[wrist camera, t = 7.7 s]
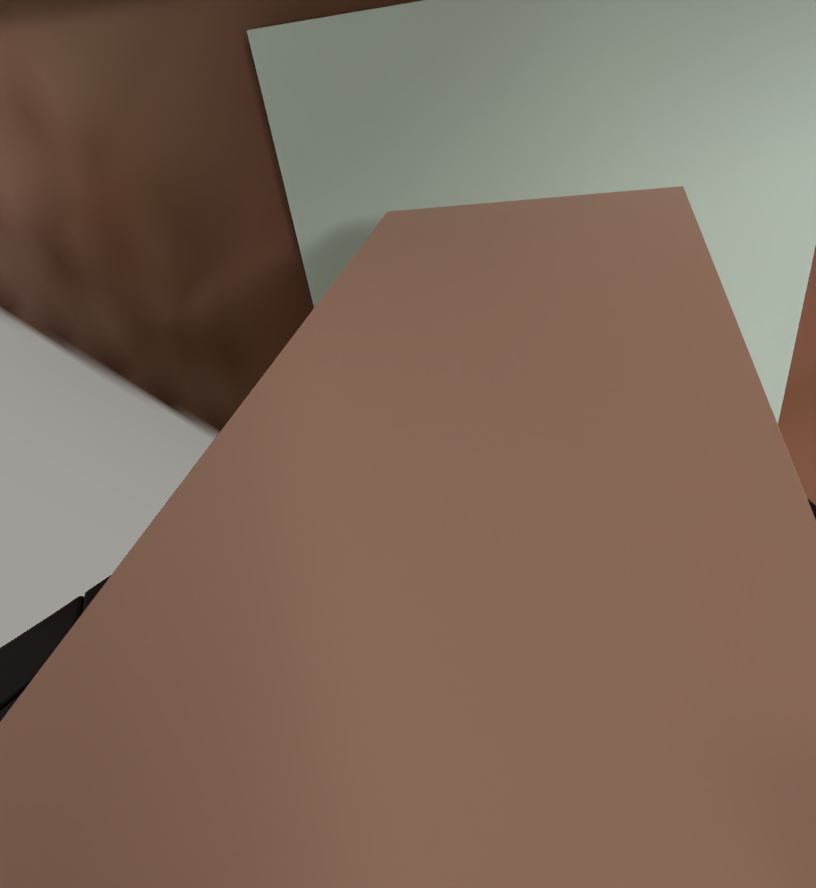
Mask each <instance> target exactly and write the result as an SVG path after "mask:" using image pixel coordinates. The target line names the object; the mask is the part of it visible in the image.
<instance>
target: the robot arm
mask: <svg viewBox="0 0 816 888" xmlns="http://www.w3.org/2000/svg"><path fill="white" fill-rule="evenodd" d="M808 502H809V504H810V507H811V509H812V512H813V514H814V517H815V519H816V505H815V504H813V503H812V502H811V501H810V500H809V499H808ZM110 576H111V575H110ZM110 576H109V577H108V578H106V579H105V580H103V581H102V582H100V583H99V584H97V585H96V586H94V587H93V588H91V589H90V590H88V591H87V592H86V593H85V596H84V597H83V596H79V597H77V598H76V599H74V600H73V601H71V602H70V603H69V604H67V605H66V606H64V607H63V608H61V609H60V610H58V611H57V612H55V613H54V614H52V615H51V616H49V617H48V618H46V619H44V620H43V621H42V622H40V623H38V624H37V625H35V626H34V627H32V628H31V629H29V630H27V631H26V632H24V633H23V634H21V635H20V636H18V637H17V638H15V639H14V640H12V641H11V642H9V643H7V644H6V645H4V646H2V647H1V648H0V721H1V720H2V719H3V718H4V716H5V715H6V714H7V712H8V711H9V710H10V708H11V707H12V706H13V704H14V703H15V702H16V700H17V699H18V698H19V696H20V695H21V694H22V692H23V691H24V690H25V689H26V687H27V686H28V685H29V683H30V682H31V681H32V679H33V678H34V677H35V675H36V674H37V673H38V671H39V670H40V669H41V667H42V666H43V665H44V663H45V662H46V661H47V660H48V658H49V657H50V656H51V654H52V653H53V652H54V650H55V649H56V648H57V646H58V645H59V644H60V642H61V641H62V640H63V638H64V637H65V636H66V634H67V633H68V632H69V631H70V629H71V628H72V627H73V625H74V624H75V623H76V621H77V620H78V619H79V617H80V616H81V615H82V613H83V612H84V611H85V609H86V608H87V607H88V605H89V604H90V603H91V602H92V600H93V599H94V598H95V596H96V595H97V594H98V592H99V591H100V590H101V588H102V587H103V586H104V584H105V583H106V582H107V580H108V579H109V578H110Z"/></svg>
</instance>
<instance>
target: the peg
mask: <svg viewBox="0 0 816 888" xmlns="http://www.w3.org/2000/svg"><path fill="white" fill-rule="evenodd" d="M0 888H816V519H815V517H814V514H813V512H812V509H811V507H810V504H809V502H808V499H807V497H806V494H805V492H804V489H803V487H802V484H801V482H800V479H799V477H798V474H797V472H796V469H795V467H794V464H793V462H792V459H791V457H790V454H789V452H788V449H787V446H786V444H785V441H784V439H783V436H782V434H781V431H780V429H779V426H778V424H777V421H776V419H775V416H774V414H773V411H772V409H771V406H770V404H769V401H768V399H767V396H766V394H765V391H764V389H763V386H762V384H761V381H760V379H759V376H758V374H757V371H756V369H755V366H754V363H753V361H752V358H751V356H750V353H749V351H748V348H747V346H746V343H745V341H744V338H743V336H742V333H741V331H740V328H739V326H738V323H737V321H736V318H735V316H734V313H733V311H732V308H731V306H730V303H729V301H728V298H727V296H726V293H725V291H724V288H723V286H722V283H721V280H720V278H719V275H718V273H717V270H716V268H715V265H714V263H713V260H712V258H711V255H710V253H709V250H708V248H707V245H706V243H705V240H704V238H703V235H702V233H701V230H700V228H699V225H698V223H697V220H696V218H695V215H694V213H693V210H692V208H691V205H690V202H689V200H688V197H687V195H686V192H685V190H684V187H683V186H679V187H667V188H655V189H644V190H632V191H620V192H609V193H597V194H586V195H574V196H562V197H551V198H539V199H527V200H516V201H504V202H493V203H481V204H469V205H458V206H446V207H434V208H423V209H411V210H399V211H388V212H387V213H386V214H385V215H384V217H383V218H382V219H381V221H380V222H379V223H378V225H377V226H376V227H375V229H374V230H373V231H372V232H371V234H370V235H369V236H368V238H367V239H366V240H365V242H364V243H363V244H362V246H361V247H360V248H359V250H358V251H357V252H356V254H355V255H354V256H353V258H352V259H351V260H350V261H349V263H348V264H347V265H346V267H345V268H344V269H343V271H342V272H341V273H340V275H339V276H338V277H337V279H336V280H335V281H334V283H333V284H332V285H331V287H330V288H329V289H328V290H327V292H326V293H325V294H324V296H323V297H322V298H321V300H320V301H319V302H318V304H317V305H316V306H315V308H314V309H313V310H312V312H311V313H310V314H309V316H308V317H307V318H306V319H305V321H304V322H303V323H302V325H301V326H300V327H299V329H298V330H297V331H296V333H295V334H294V335H293V337H292V338H291V339H290V341H289V342H288V343H287V345H286V346H285V347H284V348H283V350H282V351H281V352H280V354H279V355H278V356H277V358H276V359H275V360H274V362H273V363H272V364H271V366H270V367H269V368H268V370H267V371H266V372H265V374H264V375H263V376H262V377H261V379H260V380H259V381H258V383H257V384H256V385H255V387H254V388H253V389H252V391H251V392H250V393H249V395H248V396H247V397H246V399H245V400H244V401H243V403H242V404H241V405H240V406H239V408H238V409H237V410H236V412H235V413H234V414H233V416H232V417H231V418H230V420H229V421H228V422H227V424H226V425H225V426H224V428H223V429H222V430H221V432H220V433H219V434H218V435H217V437H216V438H215V439H214V441H213V442H212V443H211V445H210V446H209V447H208V449H207V450H206V451H205V453H204V454H203V455H202V457H201V458H200V459H199V461H198V462H197V463H196V464H195V466H194V467H193V468H192V470H191V471H190V472H189V474H188V475H187V476H186V478H185V479H184V480H183V482H182V483H181V484H180V486H179V487H178V488H177V490H176V491H175V492H174V493H173V495H172V496H171V497H170V499H169V500H168V501H167V503H166V504H165V505H164V507H163V508H162V509H161V511H160V512H159V513H158V515H157V516H156V517H155V519H154V520H153V521H152V522H151V524H150V525H149V526H148V528H147V529H146V530H145V532H144V533H143V534H142V536H141V537H140V538H139V540H138V541H137V542H136V544H135V545H134V546H133V548H132V549H131V550H130V551H129V553H128V554H127V555H126V557H125V558H124V559H123V561H122V562H121V563H120V565H119V566H118V567H117V569H116V570H115V571H114V573H113V574H112V575H111V576H110V578H109V579H108V580H107V582H106V583H105V584H104V586H103V587H102V588H101V590H100V591H99V592H98V594H97V595H96V596H95V598H94V599H93V600H92V602H91V603H90V604H89V605H88V607H87V608H86V609H85V611H84V612H83V613H82V615H81V616H80V617H79V619H78V620H77V621H76V623H75V624H74V625H73V627H72V628H71V629H70V631H69V632H68V633H67V634H66V636H65V637H64V638H63V640H62V641H61V642H60V644H59V645H58V646H57V648H56V649H55V650H54V652H53V653H52V654H51V656H50V657H49V658H48V660H47V661H46V662H45V663H44V665H43V666H42V667H41V669H40V670H39V671H38V673H37V674H36V675H35V677H34V678H33V679H32V681H31V682H30V683H29V685H28V686H27V687H26V689H25V690H24V691H23V692H22V694H21V695H20V696H19V698H18V699H17V700H16V702H15V703H14V704H13V706H12V707H11V708H10V710H9V711H8V712H7V714H6V715H5V716H4V718H3V719H2V720H1V721H0Z"/></svg>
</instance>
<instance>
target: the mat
mask: <svg viewBox="0 0 816 888" xmlns="http://www.w3.org/2000/svg"><path fill="white" fill-rule="evenodd" d="M247 34H248V38H249V43H250V47H251V51H252V55H253V59H254V63H255V67H256V71H257V75H258V80H259V84H260V88H261V92H262V96H263V100H264V104H265V108H266V112H267V117H268V121H269V125H270V129H271V133H272V137H273V141H274V145H275V149H276V154H277V158H278V162H279V166H280V170H281V174H282V178H283V182H284V186H285V191H286V195H287V199H288V203H289V207H290V211H291V215H292V219H293V224H294V228H295V232H296V236H297V240H298V244H299V248H300V252H301V256H302V261H303V265H304V269H305V273H306V277H307V281H308V285H309V289H310V293H311V298H312V302H313V306H314V308H315V306H316V305H317V304H318V302H319V301H320V300H321V298H322V297H323V296H324V294H325V293H326V292H327V290H328V289H329V288H330V287H331V285H332V284H333V283H334V281H335V280H336V279H337V277H338V276H339V275H340V273H341V272H342V271H343V269H344V268H345V267H346V265H347V264H348V263H349V261H350V260H351V259H352V258H353V256H354V255H355V254H356V252H357V251H358V250H359V248H360V247H361V246H362V244H363V243H364V242H365V240H366V239H367V238H368V236H369V235H370V234H371V232H372V231H373V230H374V229H375V227H376V226H377V225H378V223H379V222H380V221H381V219H382V218H383V217H384V215H385V214H386V213H387V212H388V211H399V210H411V209H423V208H434V207H446V206H458V205H469V204H481V203H493V202H504V201H516V200H527V199H539V198H551V197H562V196H574V195H586V194H597V193H609V192H620V191H632V190H644V189H655V188H667V187H679V186H683V187H684V190H685V192H686V195H687V197H688V200H689V202H690V205H691V208H692V210H693V213H694V215H695V218H696V220H697V223H698V225H699V228H700V230H701V233H702V235H703V238H704V240H705V243H706V245H707V248H708V250H709V253H710V255H711V258H712V260H713V263H714V265H715V268H716V270H717V273H718V275H719V278H720V280H721V283H722V286H723V288H724V291H725V293H726V296H727V298H728V301H729V303H730V306H731V308H732V311H733V313H734V316H735V318H736V321H737V323H738V326H739V328H740V331H741V333H742V336H743V338H744V341H745V343H746V346H747V348H748V351H749V353H750V356H751V358H752V361H753V363H754V366H755V369H756V371H757V374H758V376H759V379H760V381H761V384H762V386H763V389H764V391H765V394H766V396H767V399H768V401H769V404H770V406H771V409H772V411H773V414H774V416H775V419H776V421H777V424H778V421H779V416H780V411H781V406H782V402H783V397H784V392H785V387H786V383H787V378H788V373H789V368H790V364H791V359H792V354H793V350H794V345H795V340H796V335H797V331H798V326H799V321H800V316H801V312H802V307H803V302H804V298H805V293H806V288H807V283H808V279H809V274H810V269H811V264H812V260H813V255H814V250H815V245H816V0H421V1H415V2H409V3H403V4H397V5H391V6H385V7H380V8H374V9H368V10H362V11H356V12H350V13H344V14H338V15H332V16H327V17H321V18H315V19H309V20H303V21H297V22H291V23H285V24H279V25H274V26H268V27H262V28H256V29H251V30H247Z"/></svg>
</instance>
